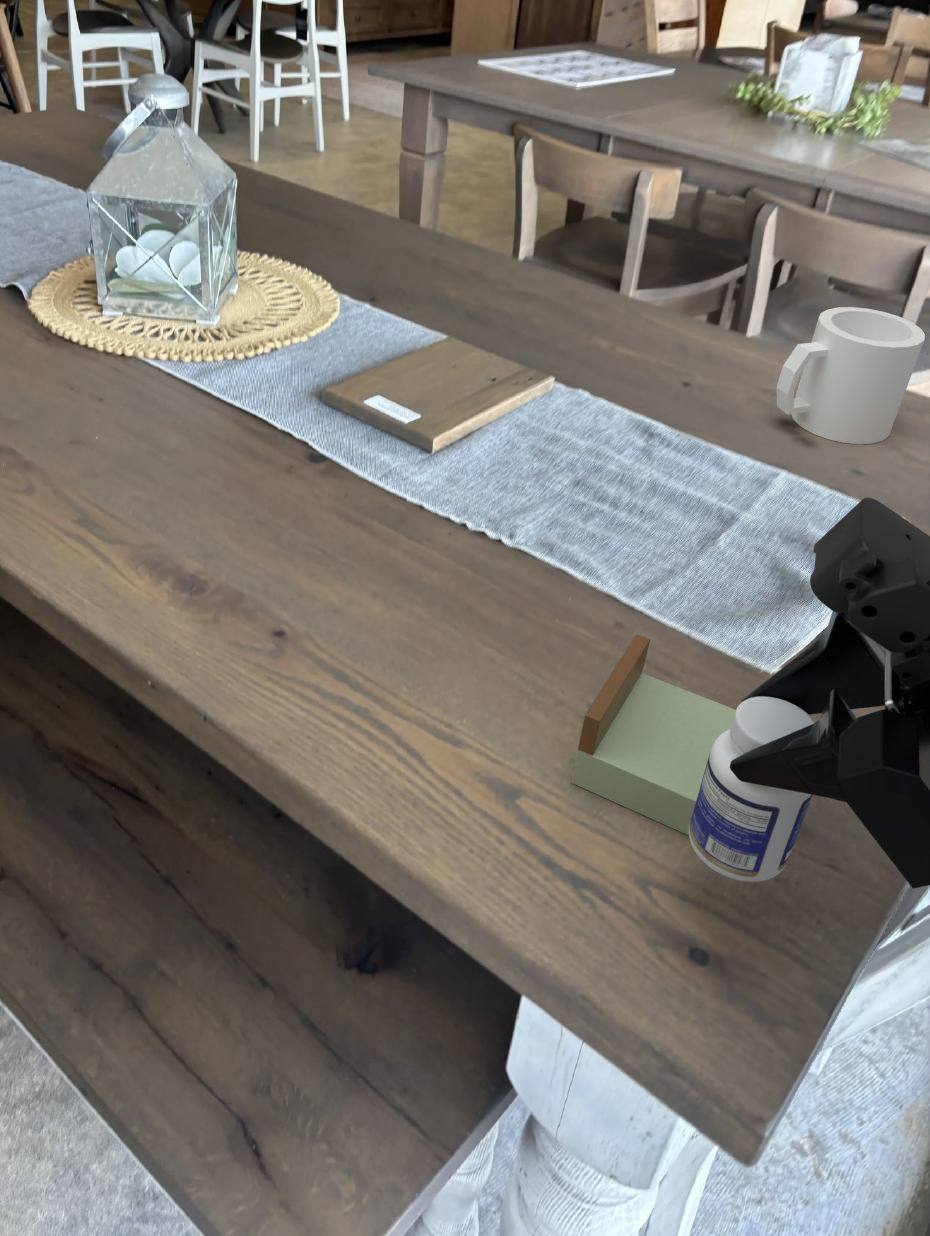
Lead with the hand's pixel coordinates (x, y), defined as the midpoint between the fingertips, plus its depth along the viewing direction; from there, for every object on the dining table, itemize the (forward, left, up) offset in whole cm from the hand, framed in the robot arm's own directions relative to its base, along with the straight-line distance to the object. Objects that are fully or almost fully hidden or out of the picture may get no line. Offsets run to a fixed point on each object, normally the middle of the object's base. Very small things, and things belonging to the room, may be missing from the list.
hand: (739, 739), depth 50 cm
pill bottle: (-2, 0, -7) cm, 8 cm away
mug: (+5, -65, -12) cm, 67 cm away
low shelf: (+4, -8, -12) cm, 15 cm away
